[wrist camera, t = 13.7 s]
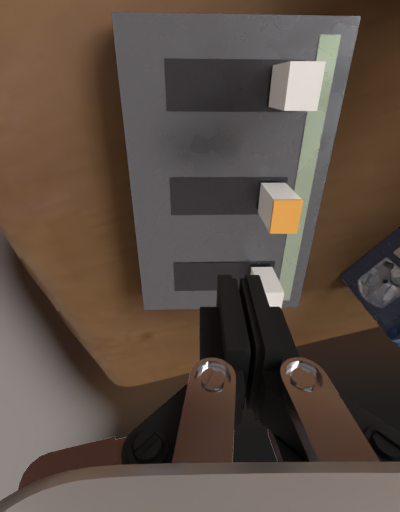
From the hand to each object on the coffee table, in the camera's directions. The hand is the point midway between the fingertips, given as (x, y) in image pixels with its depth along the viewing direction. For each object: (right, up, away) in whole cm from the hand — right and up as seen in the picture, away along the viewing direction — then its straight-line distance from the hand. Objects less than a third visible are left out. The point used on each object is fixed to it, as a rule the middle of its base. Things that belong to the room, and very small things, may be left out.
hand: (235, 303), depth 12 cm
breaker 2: (+4, +14, +8) cm, 17 cm away
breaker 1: (+4, 0, +16) cm, 17 cm away
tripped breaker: (+4, +7, +12) cm, 15 cm away
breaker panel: (+1, +8, +15) cm, 17 cm away
